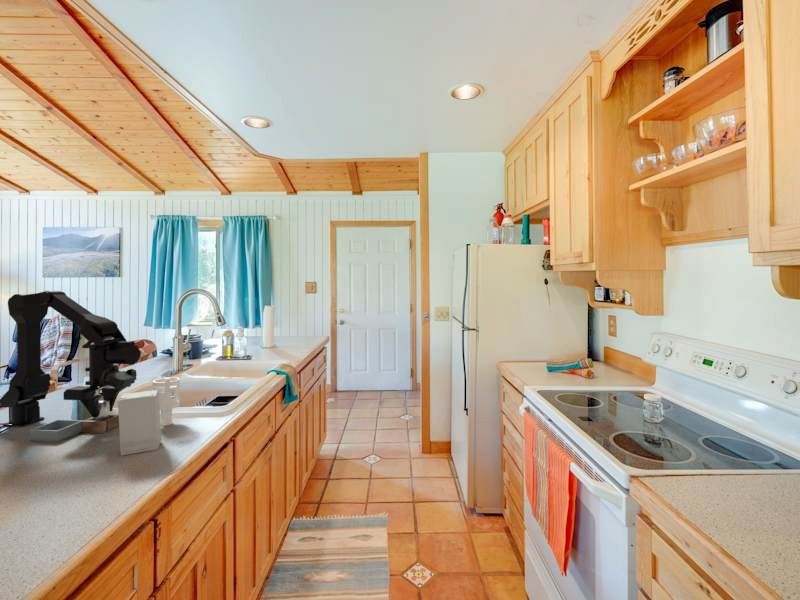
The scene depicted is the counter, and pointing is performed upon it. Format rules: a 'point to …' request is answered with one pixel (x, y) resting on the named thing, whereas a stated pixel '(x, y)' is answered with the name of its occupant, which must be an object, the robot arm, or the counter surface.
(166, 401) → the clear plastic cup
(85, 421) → the socket block
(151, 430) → the skincare box
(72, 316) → the robot arm
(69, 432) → the tray
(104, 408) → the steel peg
